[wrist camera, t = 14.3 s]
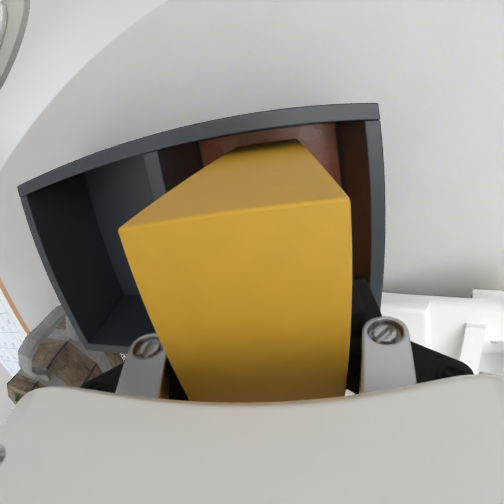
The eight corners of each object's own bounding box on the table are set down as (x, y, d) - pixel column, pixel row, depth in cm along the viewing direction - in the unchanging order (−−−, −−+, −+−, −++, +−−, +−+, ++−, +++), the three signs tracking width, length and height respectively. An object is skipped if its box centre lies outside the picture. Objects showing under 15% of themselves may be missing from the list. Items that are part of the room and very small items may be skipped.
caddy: (123, 299, 26) (85, 350, 20) (78, 163, 21) (16, 186, 14) (354, 280, 23) (376, 343, 16) (343, 108, 17) (378, 102, 11)
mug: (127, 388, 33) (94, 459, 23) (62, 359, 33) (23, 418, 22) (123, 302, 27) (61, 391, 16) (44, 269, 26) (-25, 333, 15)
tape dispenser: (372, 339, 32) (327, 431, 23) (366, 257, 27) (310, 354, 18) (524, 352, 19) (520, 457, 10) (551, 264, 15) (584, 377, 6)
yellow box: (260, 281, 22) (231, 472, 9) (236, 146, 18) (115, 229, 5) (312, 276, 22) (333, 469, 8) (297, 138, 18) (351, 197, 4)
